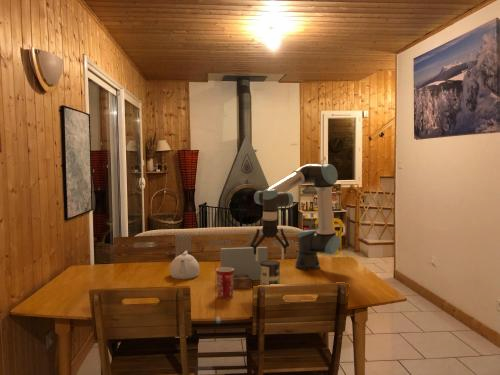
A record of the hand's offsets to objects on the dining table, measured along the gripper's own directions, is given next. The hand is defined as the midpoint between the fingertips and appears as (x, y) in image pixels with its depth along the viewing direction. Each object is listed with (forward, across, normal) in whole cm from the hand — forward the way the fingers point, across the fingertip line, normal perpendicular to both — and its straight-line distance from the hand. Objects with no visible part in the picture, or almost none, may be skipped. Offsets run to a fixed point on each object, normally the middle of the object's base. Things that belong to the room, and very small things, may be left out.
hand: (269, 260), depth 224 cm
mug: (+16, +24, +10) cm, 30 cm away
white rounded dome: (+16, +44, -33) cm, 57 cm away
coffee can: (+15, 0, 0) cm, 15 cm away
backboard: (+15, +11, -19) cm, 27 cm away
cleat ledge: (+15, +16, -11) cm, 25 cm away
